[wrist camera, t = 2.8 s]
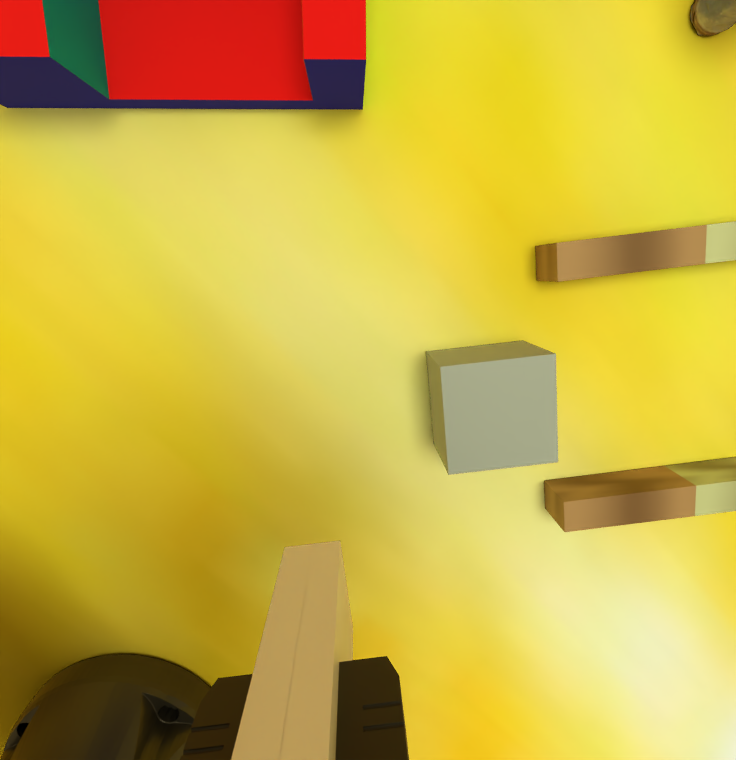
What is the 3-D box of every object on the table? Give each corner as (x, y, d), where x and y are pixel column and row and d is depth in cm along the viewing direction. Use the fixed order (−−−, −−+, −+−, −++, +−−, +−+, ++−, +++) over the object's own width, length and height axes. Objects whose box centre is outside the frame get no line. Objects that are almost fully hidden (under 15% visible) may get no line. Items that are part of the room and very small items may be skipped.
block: (433, 442, 31) (448, 474, 26) (425, 351, 29) (440, 366, 25) (525, 431, 31) (558, 462, 26) (522, 340, 29) (555, 353, 25)
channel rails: (545, 508, 32) (564, 532, 29) (535, 246, 28) (556, 243, 25) (781, 478, 32) (825, 499, 29) (804, 213, 28) (856, 206, 25)
